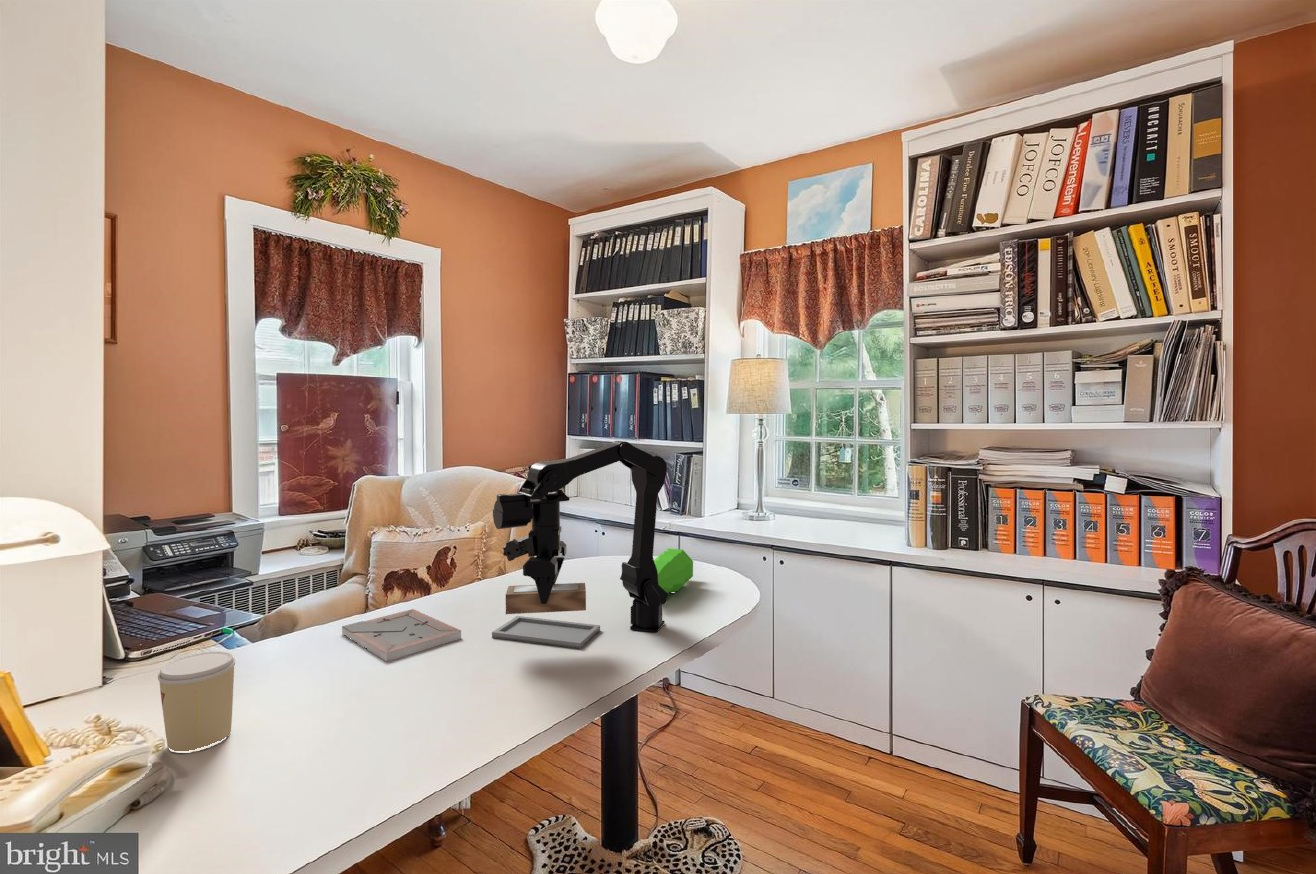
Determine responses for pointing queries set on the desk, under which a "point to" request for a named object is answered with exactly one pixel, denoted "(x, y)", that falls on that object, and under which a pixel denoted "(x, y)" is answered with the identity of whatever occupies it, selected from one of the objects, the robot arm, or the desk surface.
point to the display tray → (547, 631)
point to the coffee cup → (197, 699)
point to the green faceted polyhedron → (673, 569)
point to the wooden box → (558, 601)
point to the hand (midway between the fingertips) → (546, 598)
